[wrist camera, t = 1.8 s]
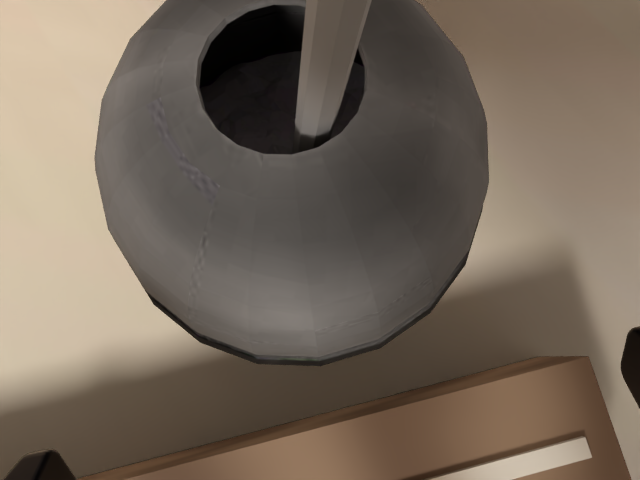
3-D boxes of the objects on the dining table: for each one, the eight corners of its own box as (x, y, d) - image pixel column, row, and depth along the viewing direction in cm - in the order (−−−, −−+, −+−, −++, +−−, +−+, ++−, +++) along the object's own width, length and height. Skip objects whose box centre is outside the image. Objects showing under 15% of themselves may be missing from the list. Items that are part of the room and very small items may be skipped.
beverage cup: (315, 146, 23) (264, -1038, 3) (440, 272, 22) (1415, -438, 2) (182, 264, 22) (-936, -464, 2) (306, 402, 21) (42, 1071, 1)
